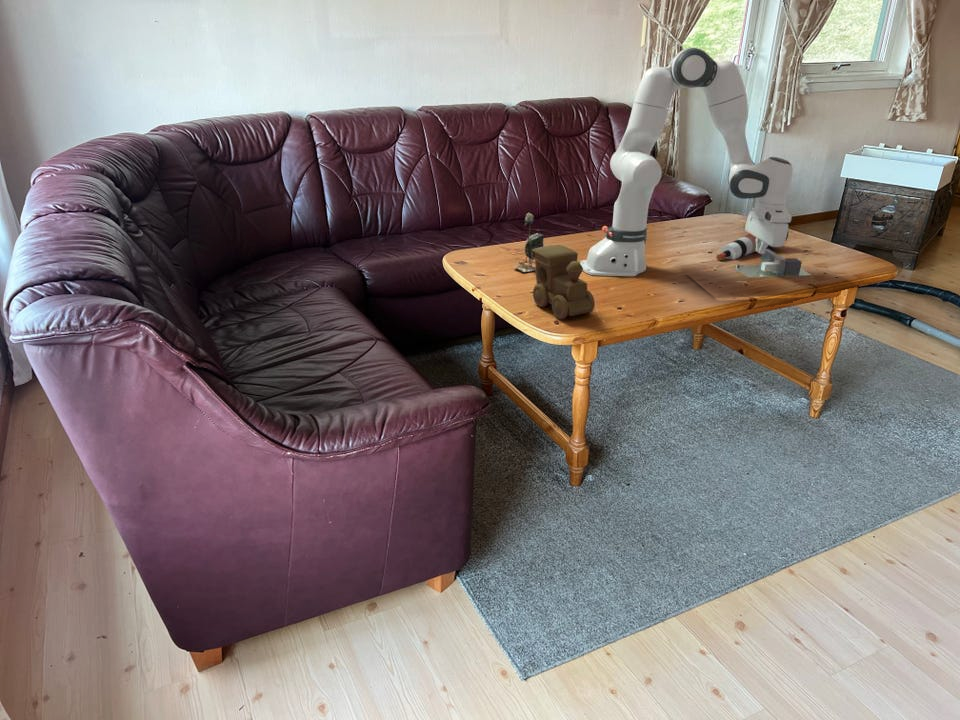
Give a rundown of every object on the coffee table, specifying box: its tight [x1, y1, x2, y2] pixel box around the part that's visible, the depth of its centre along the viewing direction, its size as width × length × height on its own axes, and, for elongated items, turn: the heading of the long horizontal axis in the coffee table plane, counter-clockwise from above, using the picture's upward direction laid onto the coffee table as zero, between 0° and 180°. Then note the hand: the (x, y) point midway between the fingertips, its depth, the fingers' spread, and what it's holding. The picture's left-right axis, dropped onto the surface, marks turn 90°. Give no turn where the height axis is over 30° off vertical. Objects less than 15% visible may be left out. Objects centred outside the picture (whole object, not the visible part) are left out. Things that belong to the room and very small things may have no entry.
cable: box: [715, 231, 789, 261], centre depth 243 cm, size 10×34×10 cm, turn 126°
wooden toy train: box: [532, 244, 596, 320], centre depth 194 cm, size 20×11×17 cm, turn 27°
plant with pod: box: [513, 212, 545, 273], centre depth 227 cm, size 8×11×20 cm
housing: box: [732, 249, 812, 279], centre depth 225 cm, size 22×12×7 cm, turn 96°
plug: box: [761, 257, 803, 274], centre depth 224 cm, size 12×4×4 cm, turn 96°
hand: (759, 252), depth 220 cm, fingers closed
